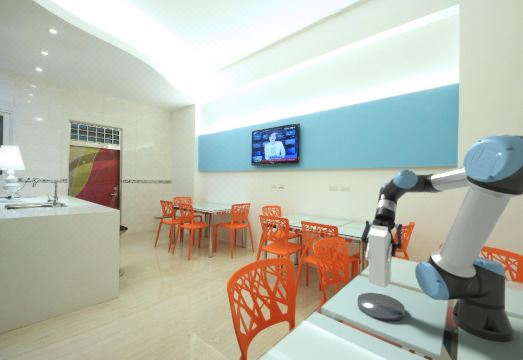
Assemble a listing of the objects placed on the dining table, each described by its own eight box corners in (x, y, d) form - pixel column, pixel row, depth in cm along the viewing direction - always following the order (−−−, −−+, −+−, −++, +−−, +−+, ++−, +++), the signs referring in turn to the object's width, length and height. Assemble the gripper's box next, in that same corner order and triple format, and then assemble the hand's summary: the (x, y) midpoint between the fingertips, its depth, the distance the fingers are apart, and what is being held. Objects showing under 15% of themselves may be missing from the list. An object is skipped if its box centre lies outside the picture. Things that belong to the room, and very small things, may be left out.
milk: (384, 288, 87) (384, 228, 86) (368, 282, 91) (368, 225, 91) (391, 283, 91) (391, 226, 90) (374, 278, 95) (375, 223, 95)
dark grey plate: (414, 315, 86) (414, 308, 86) (383, 325, 80) (383, 318, 80) (377, 296, 101) (377, 290, 101) (348, 303, 94) (348, 297, 94)
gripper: (413, 220, 97) (409, 272, 84) (362, 216, 109) (352, 260, 96) (412, 209, 93) (408, 261, 80) (359, 205, 105) (348, 250, 92)
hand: (377, 260), depth 88 cm, fingers closed on milk, 7 cm apart
